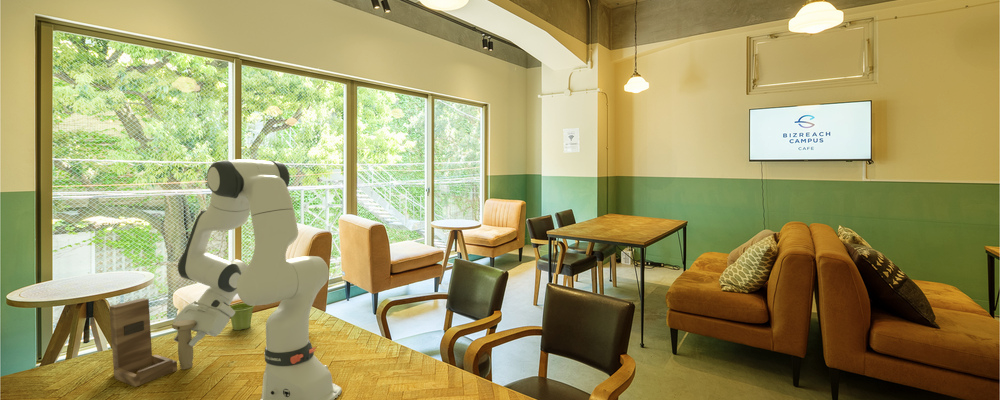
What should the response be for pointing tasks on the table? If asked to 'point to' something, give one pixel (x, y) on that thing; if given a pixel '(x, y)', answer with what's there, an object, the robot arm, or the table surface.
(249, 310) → the plant pot
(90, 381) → the table surface
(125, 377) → the wooden frame stand
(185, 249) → the robot arm
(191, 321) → the handle
